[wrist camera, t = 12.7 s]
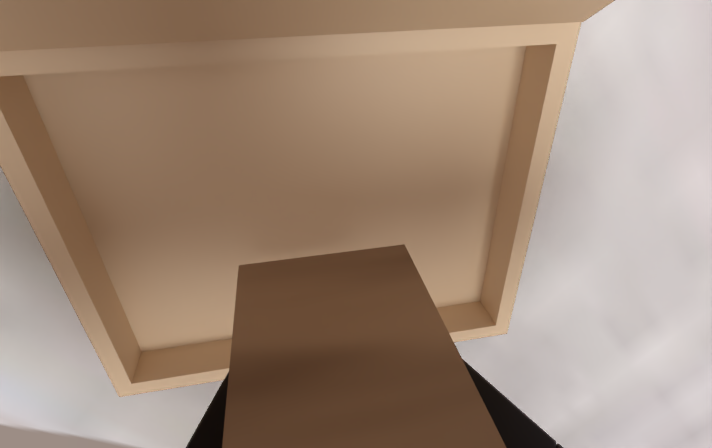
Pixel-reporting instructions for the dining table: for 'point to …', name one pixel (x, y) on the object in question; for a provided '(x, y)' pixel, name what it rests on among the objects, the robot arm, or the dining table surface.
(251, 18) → the mailer lid
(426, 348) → the walnut block
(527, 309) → the dining table surface
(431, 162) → the box
